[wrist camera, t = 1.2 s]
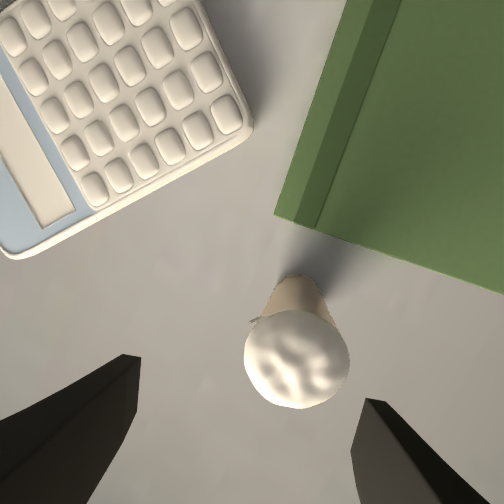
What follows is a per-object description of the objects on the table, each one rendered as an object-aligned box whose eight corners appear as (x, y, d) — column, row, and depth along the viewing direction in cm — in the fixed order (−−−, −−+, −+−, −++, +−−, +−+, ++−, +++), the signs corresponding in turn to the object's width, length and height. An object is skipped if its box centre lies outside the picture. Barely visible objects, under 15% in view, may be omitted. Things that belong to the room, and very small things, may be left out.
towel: (728, 24, 16) (753, 15, 15) (552, 310, 20) (564, 316, 19) (372, -73, 17) (376, -87, 16) (274, 214, 21) (273, 215, 20)
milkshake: (305, 241, 21) (308, 292, 11) (343, 310, 22) (378, 415, 12) (246, 273, 22) (203, 344, 12) (284, 338, 23) (271, 454, 13)
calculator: (262, 134, 20) (258, 129, 18) (26, 261, 24) (3, 268, 23) (161, -86, 18) (145, -116, 16) (-73, 94, 23) (-106, 86, 21)
